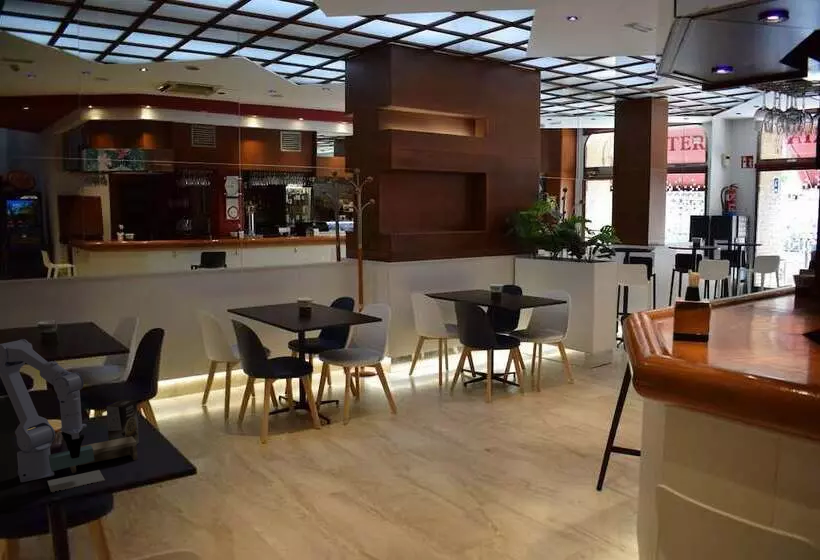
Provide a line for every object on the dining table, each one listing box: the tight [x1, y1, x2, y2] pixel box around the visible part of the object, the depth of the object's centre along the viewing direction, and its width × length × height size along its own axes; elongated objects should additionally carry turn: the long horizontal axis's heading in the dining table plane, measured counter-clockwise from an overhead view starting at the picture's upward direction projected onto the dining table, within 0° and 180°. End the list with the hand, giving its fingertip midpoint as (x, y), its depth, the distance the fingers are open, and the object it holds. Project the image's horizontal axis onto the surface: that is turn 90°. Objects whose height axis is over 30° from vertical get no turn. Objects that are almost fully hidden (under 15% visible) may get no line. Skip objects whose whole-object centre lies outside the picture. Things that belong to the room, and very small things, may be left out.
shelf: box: [69, 436, 138, 474], centre depth 229 cm, size 20×7×6 cm, turn 123°
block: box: [48, 444, 94, 472], centre depth 213 cm, size 4×12×4 cm, turn 123°
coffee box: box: [106, 399, 140, 445], centre depth 245 cm, size 9×6×16 cm
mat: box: [47, 469, 106, 493], centre depth 214 cm, size 15×10×1 cm, turn 123°
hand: (74, 455), depth 213 cm, fingers closed on block, 4 cm apart
